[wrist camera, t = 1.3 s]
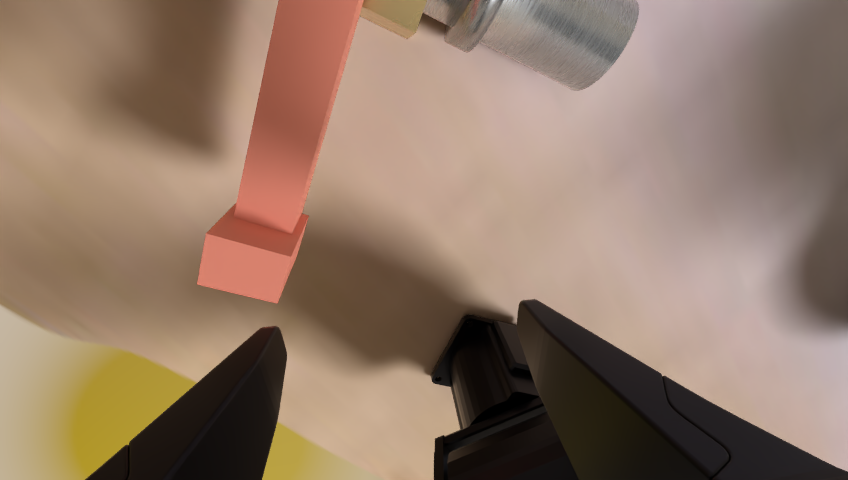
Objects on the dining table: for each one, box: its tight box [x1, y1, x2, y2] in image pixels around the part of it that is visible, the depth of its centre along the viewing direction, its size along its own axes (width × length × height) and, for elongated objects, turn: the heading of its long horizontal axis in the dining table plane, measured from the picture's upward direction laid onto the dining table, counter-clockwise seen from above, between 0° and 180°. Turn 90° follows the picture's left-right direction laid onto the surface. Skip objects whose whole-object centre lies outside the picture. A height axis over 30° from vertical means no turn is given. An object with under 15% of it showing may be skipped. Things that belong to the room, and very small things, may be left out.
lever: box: [197, 0, 364, 303], centre depth 11 cm, size 15×4×4 cm, turn 157°
